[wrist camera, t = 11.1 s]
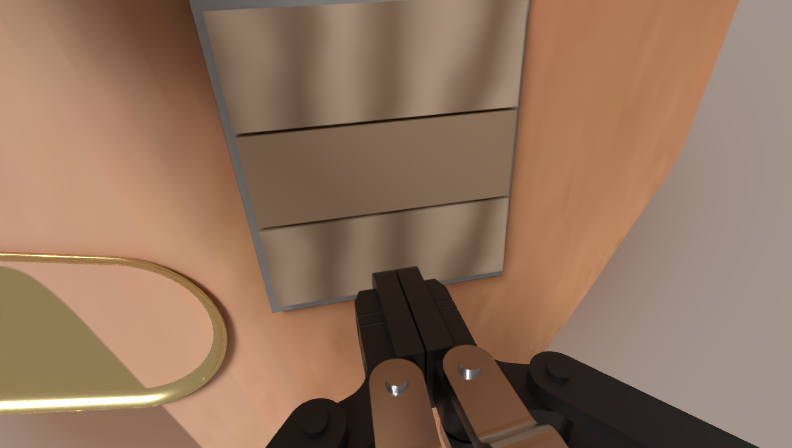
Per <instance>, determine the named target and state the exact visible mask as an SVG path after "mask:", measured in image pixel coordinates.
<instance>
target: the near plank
mask: <svg viewBox="0 0 792 448" xmlns="http://www.w3.org/2000/svg"><path fill="white" fill-rule="evenodd" d="M527 2H528V0H407V1H388V2H370V3H351V4H332V5H313V6H294V7H275V8H256V9H237V10H218V11H202V12H203V16H204V19H205V23H206V27H207V31H208V35H209V39H210V43H211V47H212V51H213V55H214V59H215V63H216V67H217V71H218V75H219V79H220V83H221V86H222V90H223V94H224V98H225V102H226V106H227V110H228V114H229V118H230V122H231V126H232V130H233V134H241V133H251V132H261V131H271V130H282V129H292V128H302V127H312V126H323V125H333V124H343V123H353V122H363V121H374V120H384V119H394V118H404V117H414V116H425V115H435V114H445V113H455V112H466V111H476V110H486V109H496V108H506V107H517V106H518V96H519V86H520V75H521V65H522V54H523V44H524V33H525V23H526V13H527Z"/></svg>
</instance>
